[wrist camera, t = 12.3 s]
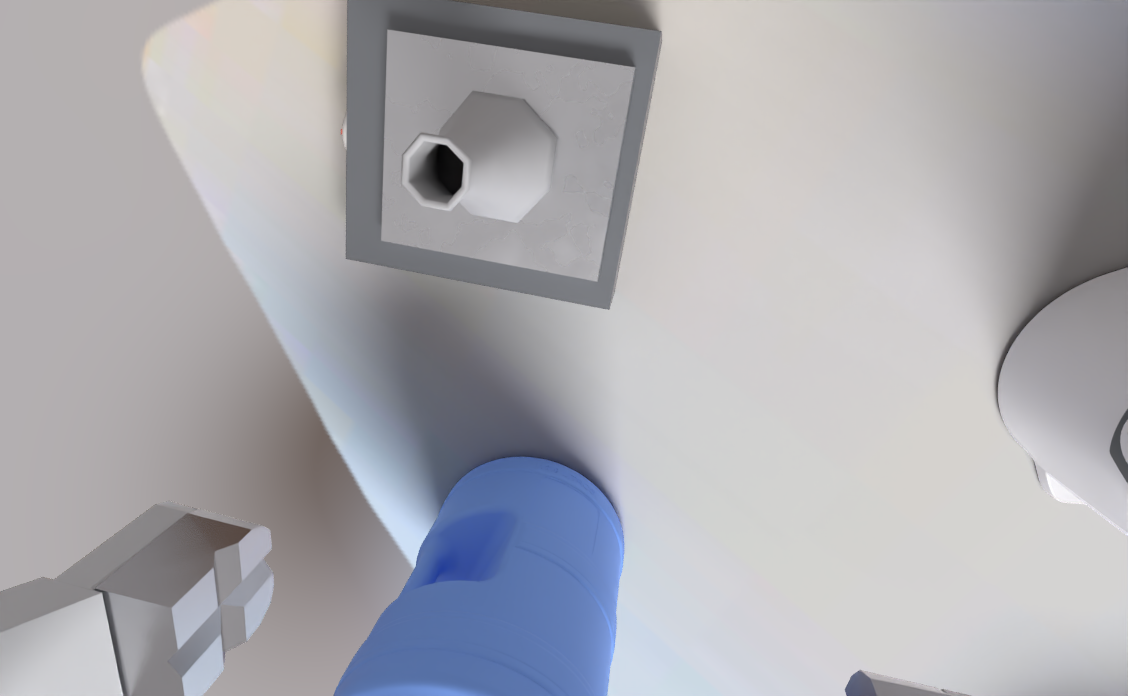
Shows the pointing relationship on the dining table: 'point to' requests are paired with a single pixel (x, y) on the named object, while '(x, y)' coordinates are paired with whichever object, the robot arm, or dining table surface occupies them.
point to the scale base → (428, 10)
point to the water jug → (503, 593)
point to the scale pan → (559, 98)
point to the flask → (483, 159)
